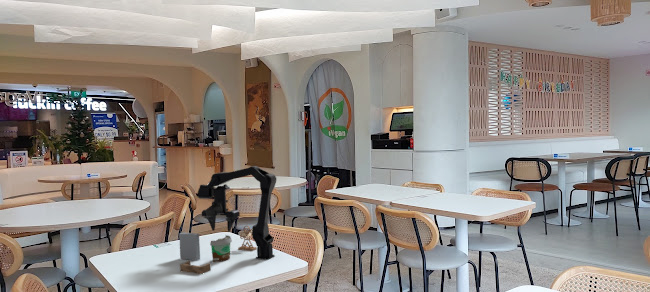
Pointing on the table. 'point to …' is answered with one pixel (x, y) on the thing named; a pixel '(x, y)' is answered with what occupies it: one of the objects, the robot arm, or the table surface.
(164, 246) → the table surface
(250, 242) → the lattice stand
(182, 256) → the sliding gate
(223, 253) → the food container
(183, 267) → the frame
